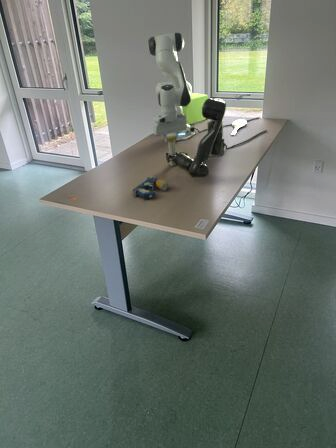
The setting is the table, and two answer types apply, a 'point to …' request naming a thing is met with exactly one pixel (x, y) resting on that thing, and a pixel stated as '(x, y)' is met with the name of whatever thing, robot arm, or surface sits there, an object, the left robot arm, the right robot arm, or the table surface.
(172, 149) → the pale cream cylinder
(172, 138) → the lid
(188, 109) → the lime green box
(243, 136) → the table surface
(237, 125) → the spoon
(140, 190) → the spray gun
